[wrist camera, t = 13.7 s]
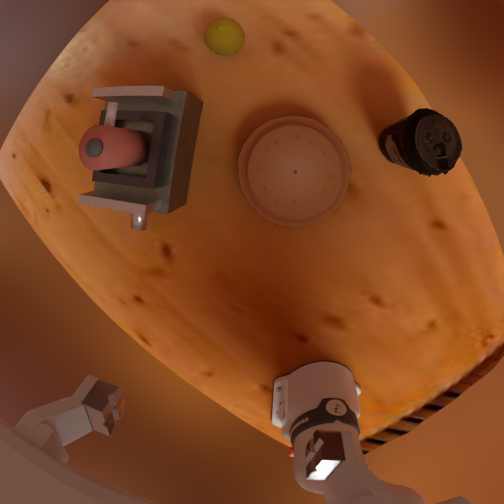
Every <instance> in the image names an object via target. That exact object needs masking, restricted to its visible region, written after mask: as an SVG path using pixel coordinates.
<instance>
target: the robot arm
mask: <svg viewBox="0 0 504 504" xmlns="http://www.w3.org/2000/svg"><path fill="white" fill-rule="evenodd" d="M360 393H361V388H360V386H359V385H358V384H356V383H355V382H354V379H353V376H352V374H351V372H350V371H349V370H348V369H347V368H346V367H344V366H343V365H341V364H338V363H334V362H316V363H311V364H308V365H305V366H303V367H301V368H299V369H297V370H296V371H294V372H293V373H291V374H289V375H286V376H282V377H279V378H277V379H275V380H274V386H273V405H272V424H273V425H275V426H277V427H279V428H281V433H282V436H283V437H284V438H286V439H288V440H290V442H291V443H292V446H293V447H290V450H289V456H290V457H293V456H294V477H295V479H296V481H297V482H298V484H299V485H300V486H301V487H302V488H304V489H305V490H308V491H310V492H315V493H319V494H325V497H326V504H426V503H425V501H424V499H423V497H422V496H421V495H420V494H419V493H418V492H417V491H415V490H414V489H412V488H409V487H406V486H403V485H396V484H391V483H387V482H385V481H383V480H381V479H379V478H378V477H377V476H376V475H375V474H374V473H373V472H372V471H371V470H370V469H369V468H368V467H367V464H366V462H365V459H364V456H363V453H362V449H361V445H360V441H359V434H360V430H359V422H358V420H357V419H358V417H360V408H359V401H358V396H359V394H360ZM121 394H122V390H121V388H120V387H117V386H114V385H112V384H110V383H107V382H105V381H102V380H100V379H98V378H96V377H93V376H91V375H89V376H88V377H86V379H85V380H84V381H83V383H82V384H81V385H80V387H79V388H78V389H77V391H76V392H75V393H74V395H73V396H72V397H71V398H69V397H67V398H64V399H62V400H59V401H56V402H53V403H50V404H47V405H44V406H41V407H38V408H35V409H32V410H29V411H27V412H26V413H25V415H24V416H23V417H22V419H21V420H20V421H19V422H18V424H17V425H16V426H15V428H14V429H12V428H11V427H10V426H8V425H7V424H6V423H5V422H3V421H2V420H1V419H0V504H159V503H156V502H153V501H149V500H147V499H143V498H141V497H138V496H135V495H132V494H130V493H127V492H125V491H122V490H120V489H117V488H114V487H112V486H110V485H108V484H105V483H103V482H101V481H99V480H97V479H94V478H92V477H90V476H88V475H86V474H84V473H82V472H80V471H78V470H76V469H75V468H73V467H71V466H69V465H67V464H66V462H67V460H68V459H69V456H68V454H67V453H66V451H65V449H64V448H63V446H65V445H67V444H69V443H70V442H72V441H74V440H76V439H78V438H80V437H82V436H83V435H85V434H87V433H89V432H90V431H92V430H93V429H94V430H96V431H98V432H101V433H103V434H105V435H108V436H110V435H111V433H112V431H113V429H114V428H115V426H116V425H115V420H117V419H119V418H120V417H121V415H122V412H123V409H124V401H123V399H122V397H121ZM436 504H473V503H472V502H471V501H469V500H468V499H466V498H464V497H462V496H458V497H454V498H451V499H448V500H445V501H442V502H440V503H436Z"/></svg>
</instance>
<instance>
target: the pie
mask: <svg viewBox="0 0 504 504" xmlns="http://www.w3.org/2000/svg"><path fill="white" fill-rule="evenodd" d="M350 173H351V168H350V162H349V157H348V153H347V151H346V149H345V147H344V145H343V143H342V141H341V140H340V139H339V138H338V137H337V136H336V135H335V134H334V133H333V132H332V131H331V130H330V129H329V128H327V127H326V126H324V125H323V124H322V123H320V122H319V121H317V120H315V119H311V118H307V117H303V116H282V117H279V118H275V119H272V120H269V121H267V122H265V123H264V124H263V125H261V126H260V127H258V128H257V129H256V130H254V131H253V133H252V134H251V135H250V136H249V137H248V139H247V140H246V141H245V142H244V144H243V146H242V149H241V151H240V154H239V156H238V177H239V183H240V189H241V191H242V193H243V195H244V197H245V199H246V200H247V202H248V204H249V205H250V206H251V207H252V208H253V209H254V211H255V212H256V213H257V214H258V215H259V216H260V217H262V218H264V219H266V220H267V221H269V222H271V223H273V224H276V225H281V226H286V227H305V226H308V225H311V224H314V223H317V222H319V221H321V220H323V219H325V218H326V217H328V216H330V215H331V214H333V213H334V212H335V211H336V209H337V208H338V207H339V205H340V204H341V203H342V201H343V199H344V197H345V194H346V192H347V189H348V186H349V180H350Z"/></svg>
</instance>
